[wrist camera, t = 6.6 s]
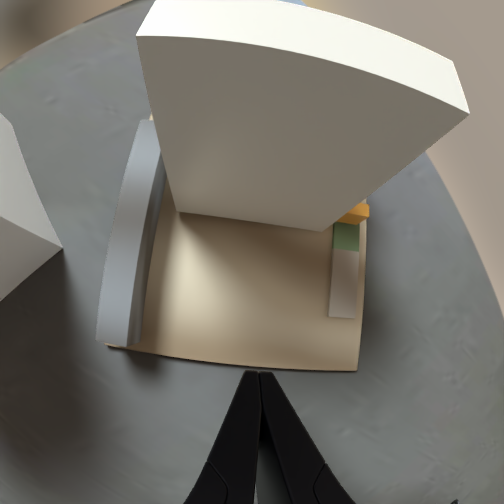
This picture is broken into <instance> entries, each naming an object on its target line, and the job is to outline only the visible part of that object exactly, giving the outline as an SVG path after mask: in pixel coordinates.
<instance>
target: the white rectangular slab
mask: <svg viewBox="0 0 504 504" xmlns="http://www.w3.org/2000/svg"><path fill="white" fill-rule="evenodd" d="M136 39H137V45H138V50H139V55H140V60H141V65H142V70H143V75H144V80H145V84H146V89H147V94H148V98H149V103H150V107H151V112H152V116H153V121H154V125H155V129H156V133H157V137H158V142H159V146H160V150H161V154H162V158H163V162H164V166H165V170H166V173H167V177H168V181H169V185H170V189H171V192H172V196H173V200H174V204H175V207H176V211H178V212H186V213H194V214H201V215H209V216H216V217H224V218H231V219H238V220H245V221H252V222H259V223H266V224H273V225H279V226H286V227H293V228H299V229H306V230H312V231H319V232H323V231H324V230H325V229H326V228H328V227H329V226H330V225H332V224H333V223H334V222H342V223H348V224H353V225H357V224H359V223H361V222H362V221H364V220H365V219H367V218H368V217H369V205H368V204H364V203H360V202H361V201H363V200H364V199H365V198H367V197H368V196H369V195H370V194H372V193H373V192H374V191H375V190H377V189H378V188H379V187H381V186H382V185H383V184H384V183H386V182H387V181H388V180H389V179H391V178H392V177H393V176H394V175H396V174H397V173H398V172H399V171H401V170H402V169H403V168H405V167H406V166H407V165H408V164H410V163H411V162H412V161H413V160H414V159H416V158H417V157H418V156H419V155H421V154H422V153H423V152H424V151H426V150H427V149H428V148H429V147H431V146H432V145H433V144H434V143H436V141H438V140H439V139H440V138H441V137H443V136H444V135H445V134H447V133H448V132H449V131H450V130H451V129H453V128H454V127H455V126H456V125H457V124H459V123H460V122H461V121H462V120H463V119H465V118H466V117H467V116H468V115H469V114H470V112H469V109H468V105H467V102H466V99H465V96H464V93H463V89H462V86H461V83H460V81H459V78H458V75H457V72H456V69H455V67H454V64H453V61H451V60H449V59H447V58H445V57H443V56H441V55H439V54H437V53H435V52H433V51H431V50H429V49H427V48H424V47H422V46H420V45H418V44H416V43H413V42H411V41H409V40H406V39H404V38H402V37H399V36H397V35H394V34H392V33H389V32H386V31H384V30H381V29H379V28H376V27H373V26H370V25H368V24H365V23H362V22H359V21H355V20H353V19H349V18H346V17H343V16H339V15H336V14H332V13H329V12H325V11H321V10H318V9H314V8H310V7H306V6H301V5H297V4H292V3H287V2H282V1H277V0H156V1H155V3H154V4H153V6H152V8H151V9H150V11H149V13H148V14H147V16H146V18H145V20H144V22H143V23H142V25H141V27H140V29H139V31H138V32H137V34H136Z"/></svg>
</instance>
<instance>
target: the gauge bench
mask: <svg viewBox="0 0 504 504" xmlns="http://www.w3.org/2000/svg"><path fill="white" fill-rule="evenodd" d="M360 203H364V204H366V198H365V199H364V200H363V201H361V202H360ZM365 263H366V219H365V220H364V221H362V222H361V223H359V224H357V225H353V224H348V223H342V222H334V223H333V224H332V225H330V226H329V227H328V228H326V229H325V230H324V231H323V232H319V231H312V230H306V229H299V228H293V227H286V226H279V225H273V224H266V223H259V222H252V221H245V220H238V219H231V218H224V217H216V216H209V215H201V214H194V213H186V212H178V211H176V207H175V204H174V200H173V196H172V192H171V189H170V185H169V181H168V177H167V173H166V170H165V166H164V162H163V158H162V154H161V150H160V146H159V142H158V137H157V133H156V129H155V125H154V121H153V116H152V113H151V116H150V119H149V120H140V123H139V127H138V130H137V133H136V136H135V139H134V143H133V146H132V150H131V153H130V156H129V160H128V164H127V167H126V171H125V175H124V179H123V182H122V186H121V190H120V194H119V199H118V203H117V207H116V212H115V216H114V221H113V225H112V230H111V235H110V240H109V245H108V251H107V256H106V262H105V268H104V274H103V280H102V287H101V294H100V301H99V308H98V317H97V326H96V335H95V341H99V342H103V343H104V345H109V346H114V347H119V348H124V349H129V350H135V351H141V352H146V353H152V354H158V355H165V356H171V357H178V358H185V359H192V360H200V361H208V362H216V363H226V364H235V365H246V366H257V367H271V368H286V369H306V370H339V371H357V365H358V357H359V348H360V338H361V327H362V315H363V301H364V285H365Z"/></svg>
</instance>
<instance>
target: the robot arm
mask: <svg viewBox="0 0 504 504" xmlns="http://www.w3.org/2000/svg"><path fill="white" fill-rule="evenodd" d="M255 483H256V489H257V499H258V504H356V503H355V502H354V501H353V500H352V499H351V497H350V496H349V495H348V494H347V492H346V491H345V490H344V489H343V487H342V486H341V485H340V483H339V482H338V480H337V479H336V477H335V476H334V474H333V473H332V471H331V470H330V468H329V466H328V465H327V464H326V463H325V460H324V458H323V457H322V455H321V454H320V452H319V450H318V449H317V447H316V445H315V444H314V442H313V440H312V439H311V437H310V435H309V434H308V432H307V430H306V429H305V427H304V425H303V424H302V422H301V420H300V419H299V417H298V415H297V414H296V412H295V410H294V409H293V407H292V405H291V403H290V402H289V400H288V398H287V397H286V395H285V393H284V391H283V390H282V388H281V386H280V384H279V383H278V381H277V379H276V378H275V376H274V374H273V373H272V372H267V371H259V372H257V371H254V370H245V371H244V373H243V375H242V378H241V380H240V383H239V385H238V388H237V390H236V392H235V395H234V397H233V400H232V402H231V404H230V407H229V409H228V412H227V414H226V416H225V419H224V421H223V424H222V426H221V428H220V431H219V433H218V435H217V438H216V440H215V442H214V445H213V447H212V449H211V451H210V454H209V456H208V458H207V462H206V463H205V465H204V467H203V469H202V472H201V474H200V476H199V478H198V480H197V482H196V484H195V486H194V488H193V489H192V491H191V492H190V494H189V496H188V497H187V499H186V501H185V502H184V503H183V504H253V503H254V493H255Z"/></svg>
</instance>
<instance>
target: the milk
mask: <svg viewBox="0 0 504 504" xmlns="http://www.w3.org/2000/svg"><path fill="white" fill-rule="evenodd" d="M62 248H63V247H62V245H61V243H60V241H59V239H58V237H57V235H56V233H55V231H54V229H53V227H52V225H51V223H50V220H49V218H48V216H47V214H46V212H45V210H44V207H43V205H42V203H41V201H40V198H39V196H38V194H37V191H36V189H35V186H34V184H33V182H32V179H31V177H30V174H29V172H28V169H27V166H26V164H25V161H24V159H23V156H22V153H21V150H20V148H19V145H18V142H17V139H16V136H15V133H14V130H13V127H12V124H11V123H10V122H9V121H8V120H7V119H6V118H5V117H4V116H3V115H2V114H1V113H0V301H1V300H2V299H3V298H4V297H6V296H7V295H8V294H9V293H10V292H11V291H12V290H13V289H14V288H16V287H17V286H18V285H19V284H20V283H21V282H22V281H24V280H25V279H26V278H27V277H28V276H29V275H31V274H32V273H33V272H34V271H35V270H36V269H38V268H39V267H40V266H41V265H42V264H44V263H45V262H46V261H47V260H49V259H50V258H51V257H52V256H54V255H55V254H56V253H57V252H59V251H60V250H61V249H62Z"/></svg>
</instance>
